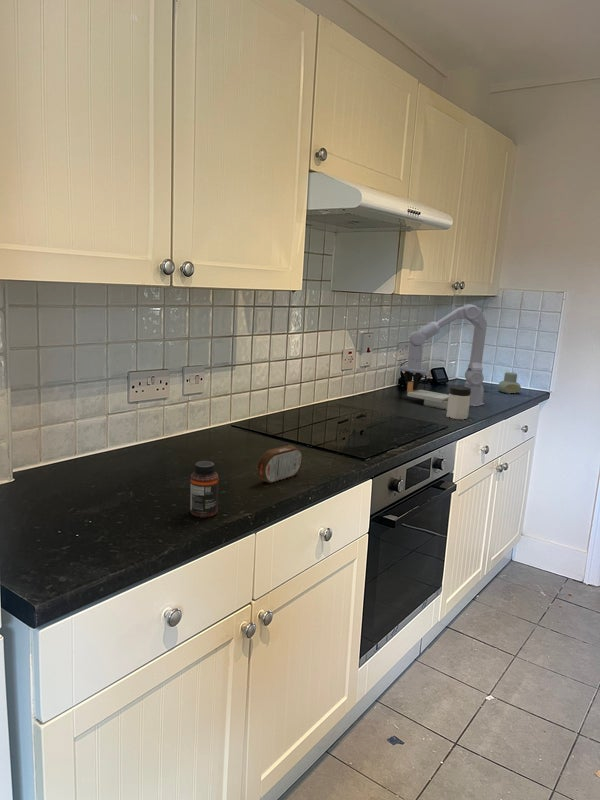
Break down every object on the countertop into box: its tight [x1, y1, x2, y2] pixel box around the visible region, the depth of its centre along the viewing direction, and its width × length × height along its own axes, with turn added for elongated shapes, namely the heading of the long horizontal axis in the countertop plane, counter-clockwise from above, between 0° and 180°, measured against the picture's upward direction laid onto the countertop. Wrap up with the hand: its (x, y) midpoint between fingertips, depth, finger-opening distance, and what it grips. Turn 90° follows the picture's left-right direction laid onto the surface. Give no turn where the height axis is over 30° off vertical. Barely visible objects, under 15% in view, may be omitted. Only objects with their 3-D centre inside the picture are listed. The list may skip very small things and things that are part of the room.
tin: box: [256, 444, 304, 484], centre depth 155 cm, size 15×3×8 cm, turn 139°
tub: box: [423, 399, 448, 411], centre depth 259 cm, size 10×16×4 cm, turn 50°
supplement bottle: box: [189, 460, 219, 518], centre depth 130 cm, size 6×6×11 cm
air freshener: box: [497, 371, 522, 394], centre depth 303 cm, size 11×8×10 cm
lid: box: [406, 380, 449, 403], centre depth 264 cm, size 11×19×6 cm, turn 50°
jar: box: [445, 385, 471, 420], centre depth 240 cm, size 9×8×12 cm
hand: (411, 389), depth 269 cm, fingers closed on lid, 2 cm apart
